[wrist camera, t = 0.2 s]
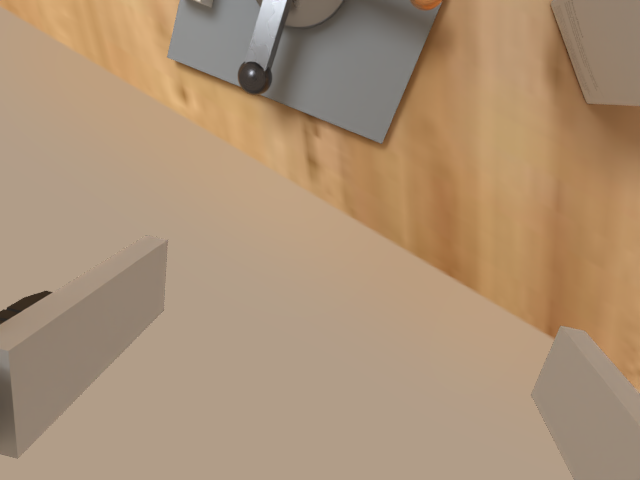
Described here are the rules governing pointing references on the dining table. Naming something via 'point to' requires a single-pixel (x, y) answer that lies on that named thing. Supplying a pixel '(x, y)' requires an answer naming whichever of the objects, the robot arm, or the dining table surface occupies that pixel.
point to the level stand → (315, 56)
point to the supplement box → (603, 47)
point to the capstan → (276, 12)
